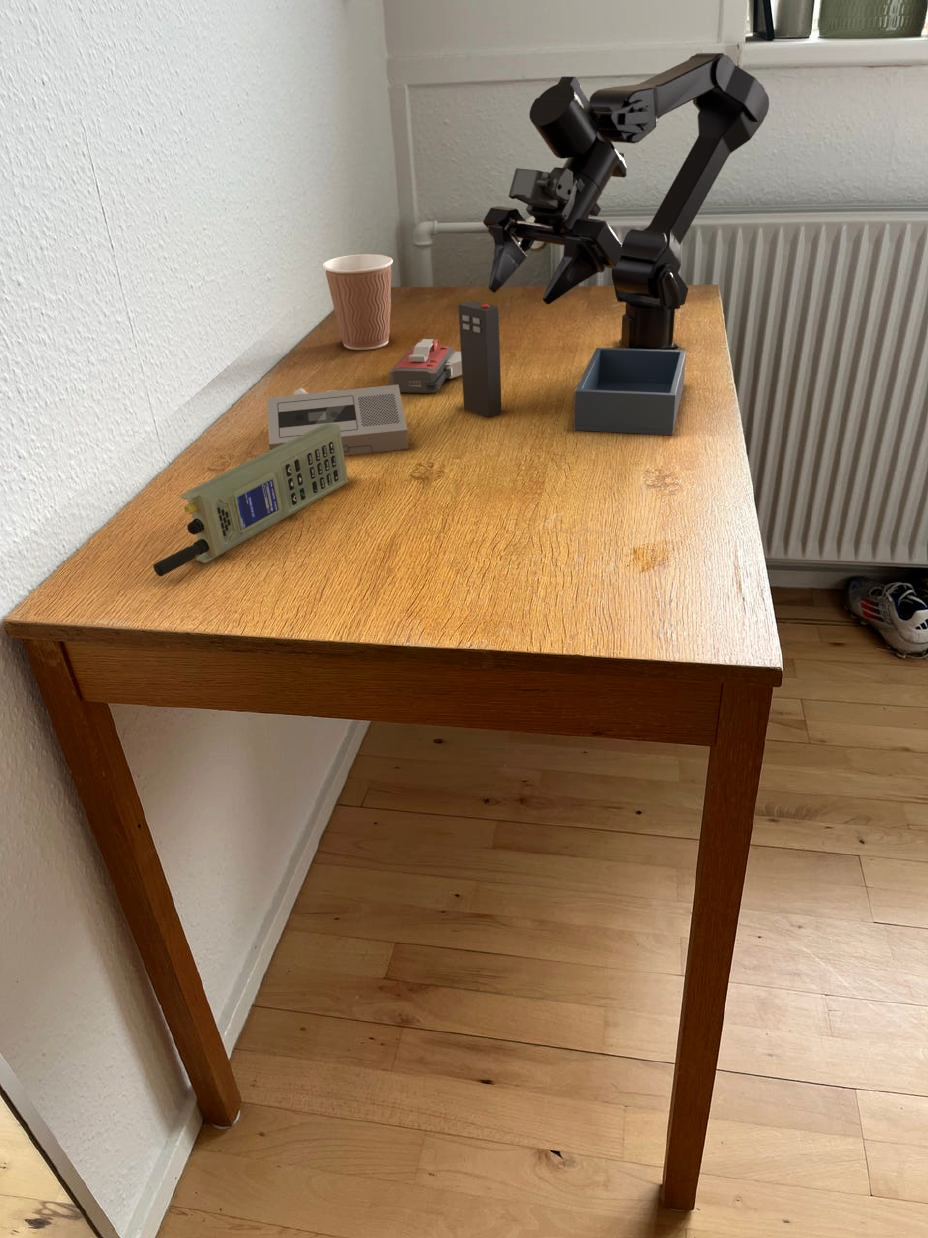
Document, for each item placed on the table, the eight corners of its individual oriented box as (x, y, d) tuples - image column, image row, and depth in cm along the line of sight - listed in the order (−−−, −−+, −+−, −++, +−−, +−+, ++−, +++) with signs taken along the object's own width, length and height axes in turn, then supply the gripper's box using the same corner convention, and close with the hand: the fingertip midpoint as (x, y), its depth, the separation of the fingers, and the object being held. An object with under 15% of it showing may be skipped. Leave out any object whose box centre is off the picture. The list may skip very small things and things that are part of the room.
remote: (476, 404, 121) (471, 298, 114) (501, 412, 118) (498, 304, 111) (462, 409, 120) (456, 302, 113) (488, 418, 117) (483, 308, 110)
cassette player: (268, 444, 107) (266, 392, 113) (272, 463, 109) (270, 411, 115) (407, 429, 108) (397, 379, 115) (408, 448, 110) (398, 398, 117)
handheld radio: (353, 484, 103) (173, 587, 86) (331, 479, 104) (149, 579, 88) (344, 425, 99) (154, 520, 82) (321, 421, 101) (130, 513, 84)
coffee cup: (412, 338, 147) (406, 256, 141) (372, 357, 140) (363, 272, 133) (360, 330, 152) (351, 251, 145) (318, 348, 145) (307, 266, 138)
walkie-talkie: (450, 397, 124) (482, 350, 140) (448, 364, 121) (481, 320, 138) (385, 396, 126) (424, 349, 142) (382, 363, 123) (422, 319, 139)
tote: (595, 383, 126) (596, 347, 123) (683, 387, 123) (686, 350, 120) (574, 430, 112) (574, 390, 110) (672, 435, 110) (675, 395, 107)
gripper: (491, 134, 116) (429, 246, 116) (610, 142, 104) (541, 266, 104) (536, 194, 125) (478, 298, 124) (651, 208, 113) (587, 323, 113)
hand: (517, 296), depth 116 cm, fingers open, 9 cm apart
